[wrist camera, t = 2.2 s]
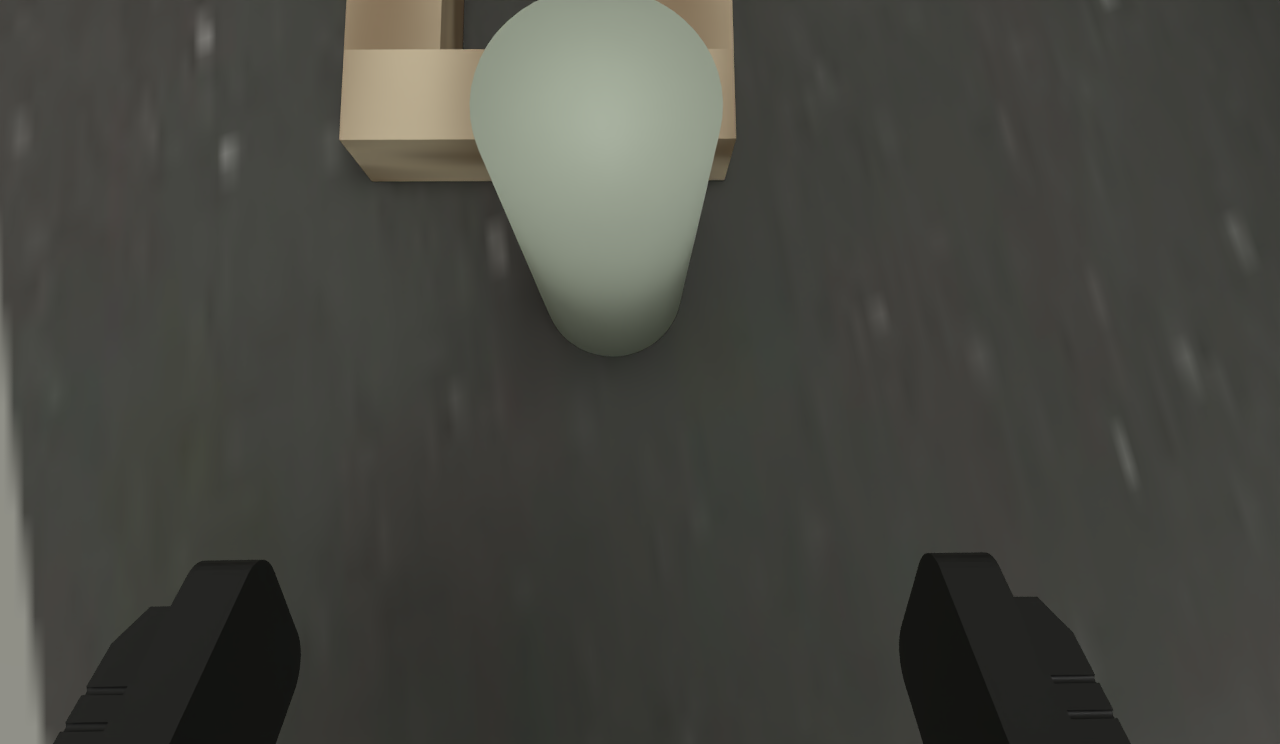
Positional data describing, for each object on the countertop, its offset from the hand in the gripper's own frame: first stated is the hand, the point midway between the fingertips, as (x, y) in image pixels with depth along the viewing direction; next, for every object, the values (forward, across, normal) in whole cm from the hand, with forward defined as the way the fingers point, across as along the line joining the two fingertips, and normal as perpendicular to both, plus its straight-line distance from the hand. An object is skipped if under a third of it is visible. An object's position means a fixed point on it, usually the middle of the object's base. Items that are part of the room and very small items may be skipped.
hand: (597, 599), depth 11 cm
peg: (+15, 0, +4) cm, 16 cm away
